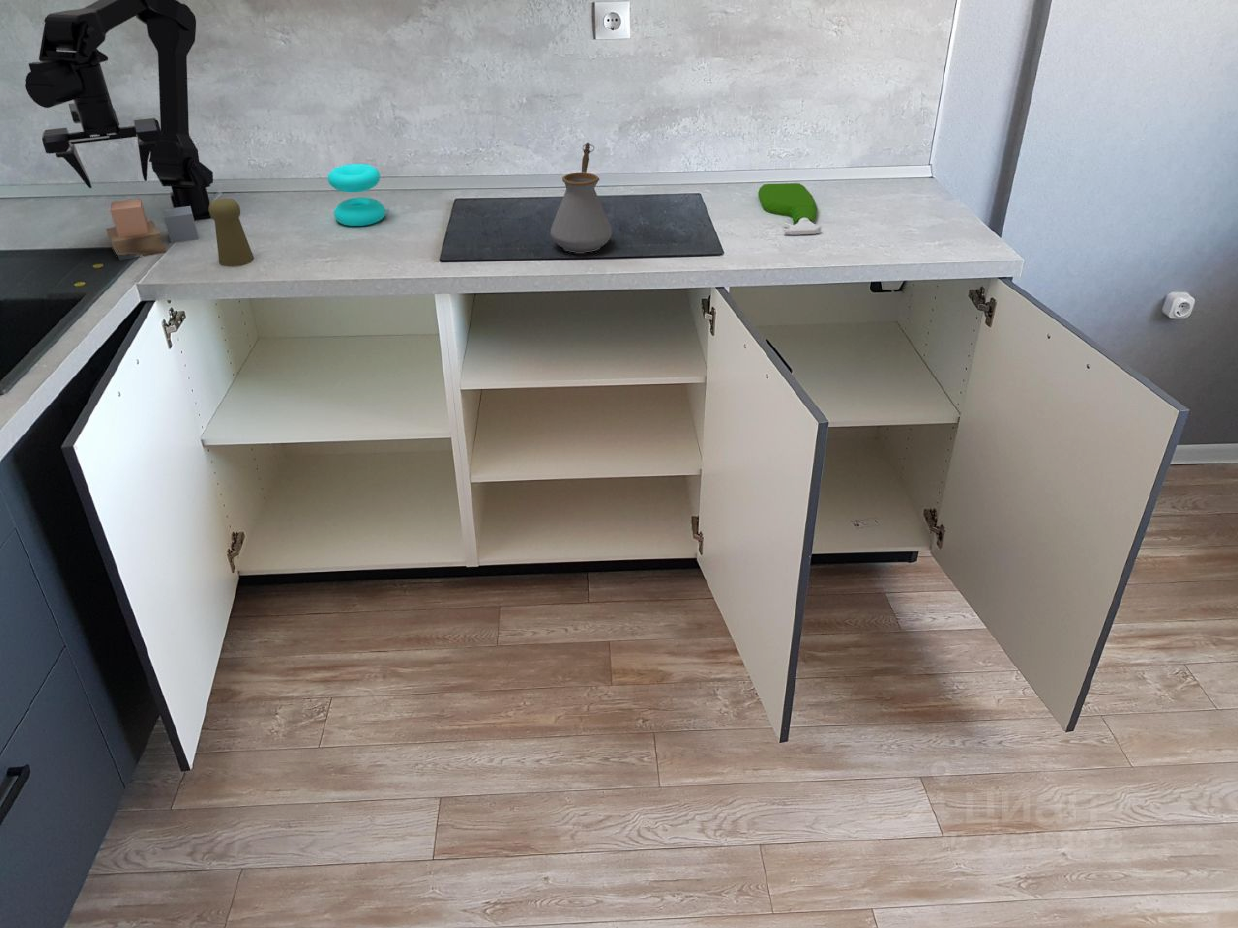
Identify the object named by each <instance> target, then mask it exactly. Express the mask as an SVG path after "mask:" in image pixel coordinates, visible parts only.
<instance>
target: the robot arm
mask: <svg viewBox="0 0 1238 928" xmlns="http://www.w3.org/2000/svg"><path fill="white" fill-rule="evenodd" d="M135 17H136V19H137V20H139V21H140V22H142V23H143V24H145V25H146V30H147V36H148V38H149V40H150V41H151V43H152V44H153V47H154V48H155V50H156V51H157V66H158V67H157V68H158V72H157V73H158V92H159V93H158V96H159V118H160V119H159V120H157V119H156V118H155V117H152V118H141V119H134V120H133V124H134V125H131V126H130V125H129V126H121V127H120V122H119V119H118V115H117V112H116V110H115V108H114V106H113V103H112V98H111V94H110V92H109V89H108V85H107V83H106V79H105V76H104V72H103V69H102V65H101V63H103V62H107V61H109V57H108V55H106V54H104V53H103V52H101V51H99V49H98V48H99V47H100V46H101V45H102V44H103V43H104V42H105V41H106V36H107V33H108V32H109V31H111V30H113V29H115V28H117V27H118V26H120V25H121V24H123V23H125V22H128V21H129V20H130V19H133V18H135ZM43 26H44V27H43V31H42V37H41V43H40V48H39V55H38V60H39V61H32V62H29V63H28V67H29V72H28V73H27V74H26V77H25V80H24V81H25V84H24V88H25V90H26V92H27V94H28V96H29V98H30V99H31V100H32V101H33V102H34V103H35V104H37V106H40V107H42V108H45V109H49V108H53V107H56V106H60V105H63V104H66V103H68V102H72V101H73V102H74V103H68V108H69V111H70V114H71V118H72V121H73V123H74V124H81V127H82V130H83V131H77V132H69V130H68V128H67V127H59V128H51V129H45V130H44V131H43V133H42V136H41V141H42V145H43V148H44V150H45V153H46V154H55V156H56V158H57V159H58V158H63V159H64V160H65V161H66V162H67V163H68V165H70V166H71V167H72V168H73V169H74V170H75V172H76V173H77V174H78V176H79V177H80V178H81V180H82V181H83V182H84V183H85V185H86V186H87V187H88V188H89V189H92V187H93V186H92V183H91V180H90V177H89V175H88V173H87V171H86V169H85V167H84V164H83V162H82V160H81V157H80V156H79V153H78V150H77V148H76V146H75V145H79V144H87V143H96V142H104V141H114V140H121V139H122V140H123V139H131V138H136V140H137V145H138V151H139V160H140V166H141V172H142V178H143V180H144V181H145V182H147V181H148V166H149V163H151V164H150V165H151V169H152V172H153V173H155V176H156V177H157V179H158V181H159V182H160V184H161V186H162V187H171V191H172V192H171V191H170V194H169V195H170V198H171V199H170V200H171V203H172V208H178V207H186V206H191V210H192V214H193V218H194V220H199V219H205V218H206V219H207V218H211V216H210V214H209V204H210V203H211V201H210V197H209V195H208V194H209V193H208V189H207V188H209V187H211V184H213V183H214V175H213V174H214V173H213V171H212V170H211V169H209V167H207V166H206V165H204V163H202V162H201V161H200V156H199V155H200V154H199V149H198V148H197V146H196V144H195V142H194V141H193V140H192V137H191V135H190V132H189V130H190V127H189V126H190V125H189V124H190V123H189V97H188V96H189V95H188V93H189V92H188V61H187V60H188V57H187V56H188V54H189V52H190V51H191V49H192V47H193V46H194V44H195V42H196V32H197V31H196V30H197V19H196V15H195V14H194V13H193V11H192V10H191V8H190V7H189V6H188V5H187V4H185V3H181V2H180V1H179V0H96V1H94V2H93V3H91V4H89V5H86V6H85V7H83V8H79V9H69V10H61V11H57V12H53V13H49V14H48V15H46V16H45V18H44V25H43ZM159 121H160V123H159Z"/></svg>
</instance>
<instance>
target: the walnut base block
mask: <svg viewBox="0 0 1238 928" xmlns="http://www.w3.org/2000/svg"><path fill="white" fill-rule="evenodd" d="M147 221H148V225H149V231H148V234H141V235H133V236H125V237H118V233H117V230H116V227H115V226H114V227H109V228H106V233H107V236H108V239H109V243H110V245H111V248H112V247H113V248H112V250H113V249H114V250H115V252H116V254H117V255H126V254H139V255H142V256H144V257H149V256H154V255H159V254H165V253H166V248H165V245H164V241H163V239H162V238H163V237H162V235H161V232H160V231H159V229H158V227H157V226H156V225H155V223H154V221H153V220H147ZM114 250H113V251H114ZM115 252H114V253H115ZM116 254H115V255H116ZM148 255H149V256H148Z"/></svg>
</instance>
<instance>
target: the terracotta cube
mask: <svg viewBox="0 0 1238 928" xmlns="http://www.w3.org/2000/svg"><path fill="white" fill-rule="evenodd" d="M109 212H110V213H111V216H112V221H113V224H114V227H116V230H117V233H118V237H125V236H133V235H141V234H148V231H149V225H148V221H149V220H148V218H147V214H146V211H145V208H144V205H143V201H142V198H136V199H126V200H119V201H118V200H117V201H116V200H115V201H111V203H110V211H109Z"/></svg>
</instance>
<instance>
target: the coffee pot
mask: <svg viewBox="0 0 1238 928" xmlns="http://www.w3.org/2000/svg"><path fill="white" fill-rule="evenodd" d="M590 146H592V147H593V149H592V150H590V149H591V148H590ZM582 147H584V148H582V150H583V153H584V154H583V157H582V161H581V172H571V173H567V174H565V175H563V176H562V179H561V181H562V182H563V183H564V186H565V191H564V194H563V197H562V199H561V202H560V205H559V207H558V210H557V213H556V215H555V218H554V221H553V223H552V225H551V229H550V236H551V238H552V241H554V243H556V244H557V245H558V246H559V247H560V248H561V247H563V248H565V249H566V250H569V251H575V252H585V251H591V250H595V249H597V248H599V247H601V246H602V247H603V246H605V245H606V244H607V243H608V242H609V240H610V239H611V237H612V235H613V227H612V226H611V224H610V221H609V220H608V217H607V215H606V212H605V210H604V208H603V205H602V203H601V201H600V198H599V196H598V193H597V192H596V190H595V187H596V186H597V184H598V182H599V181H600V177H599V176H597V175H596V174H594V173H590V172H587V171H588V168H589V167H588V166H589V161H590V155H589V154H590V153H592V152H593V151H595V146H594V145H593V144H592V143H591V144H590V143H589V142H587V143H585V144H583V146H582Z"/></svg>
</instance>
